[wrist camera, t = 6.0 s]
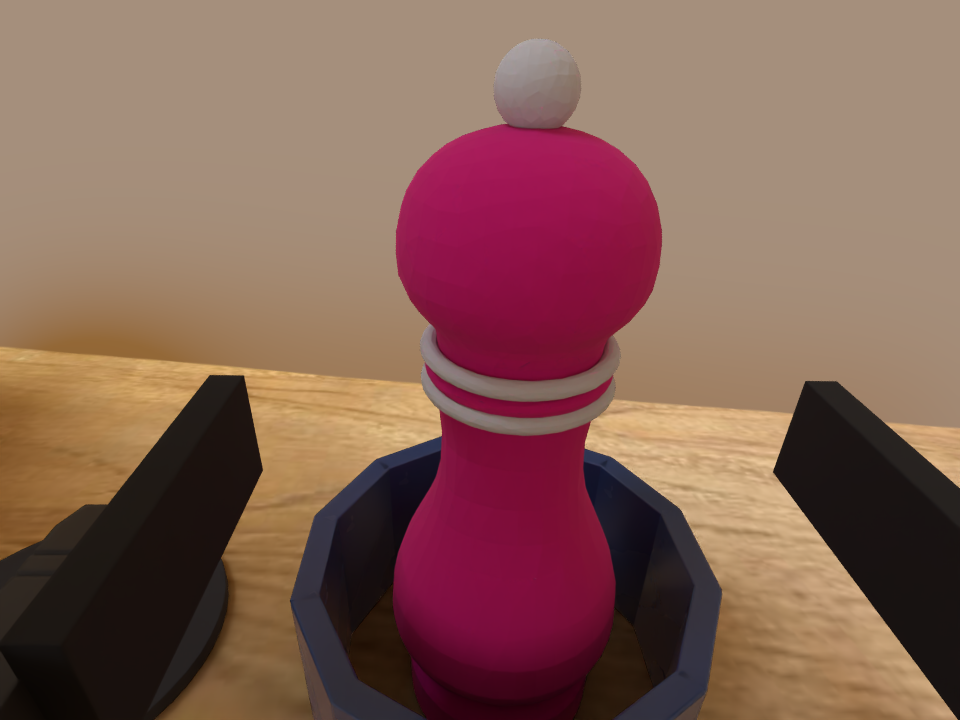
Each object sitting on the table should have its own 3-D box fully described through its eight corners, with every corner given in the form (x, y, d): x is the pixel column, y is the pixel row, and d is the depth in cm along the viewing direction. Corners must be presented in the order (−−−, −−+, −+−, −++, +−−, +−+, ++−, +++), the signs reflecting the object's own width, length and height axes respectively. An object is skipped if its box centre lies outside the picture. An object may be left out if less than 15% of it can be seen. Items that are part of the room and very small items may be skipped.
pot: (258, 995, 13) (206, 887, 10) (355, 514, 27) (344, 411, 24) (773, 963, 14) (858, 853, 11) (611, 510, 28) (630, 409, 25)
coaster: (-177, 673, 20) (-186, 662, 19) (137, 495, 28) (134, 486, 28) (-55, 904, 14) (-65, 894, 14) (286, 603, 23) (284, 593, 22)
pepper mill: (424, 574, 24) (408, 39, 15) (594, 598, 23) (695, 47, 14) (371, 756, 18) (282, 23, 8) (601, 798, 17) (798, 36, 7)
